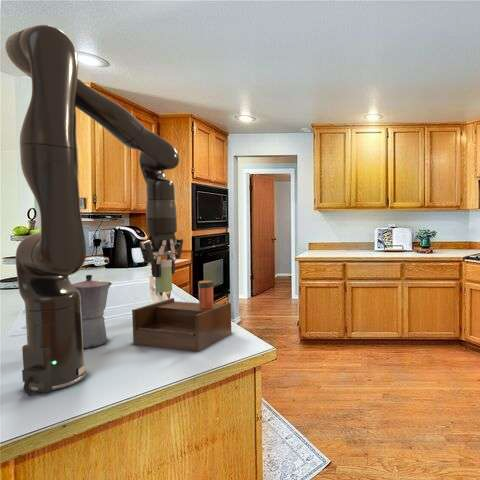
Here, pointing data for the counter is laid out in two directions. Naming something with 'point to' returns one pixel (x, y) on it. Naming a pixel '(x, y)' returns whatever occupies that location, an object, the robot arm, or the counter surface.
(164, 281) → the cylinder
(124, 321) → the counter surface
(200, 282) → the pepper shaker
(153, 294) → the beer glass
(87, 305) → the moka pot
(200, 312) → the spice rack
